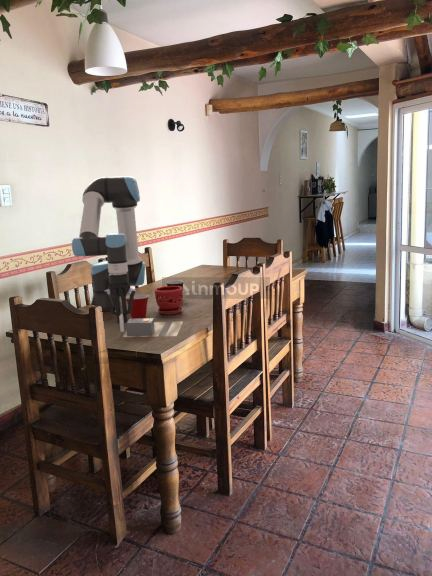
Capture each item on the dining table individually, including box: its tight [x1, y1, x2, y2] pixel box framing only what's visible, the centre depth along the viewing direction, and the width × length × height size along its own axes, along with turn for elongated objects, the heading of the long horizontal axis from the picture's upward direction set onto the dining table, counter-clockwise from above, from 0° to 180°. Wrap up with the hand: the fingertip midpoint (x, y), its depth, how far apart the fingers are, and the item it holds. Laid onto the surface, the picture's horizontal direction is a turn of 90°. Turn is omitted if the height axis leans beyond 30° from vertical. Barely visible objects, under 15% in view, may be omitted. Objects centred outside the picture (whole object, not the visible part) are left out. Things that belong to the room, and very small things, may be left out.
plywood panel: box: [121, 321, 184, 338], centre depth 199 cm, size 22×20×2 cm
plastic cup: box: [126, 293, 150, 319], centre depth 215 cm, size 11×11×12 cm
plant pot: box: [154, 285, 184, 315], centre depth 228 cm, size 13×13×12 cm
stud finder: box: [125, 317, 155, 336], centre depth 192 cm, size 10×6×6 cm, turn 87°
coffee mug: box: [166, 279, 184, 297], centre depth 251 cm, size 12×9×10 cm
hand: (123, 330), depth 193 cm, fingers closed
